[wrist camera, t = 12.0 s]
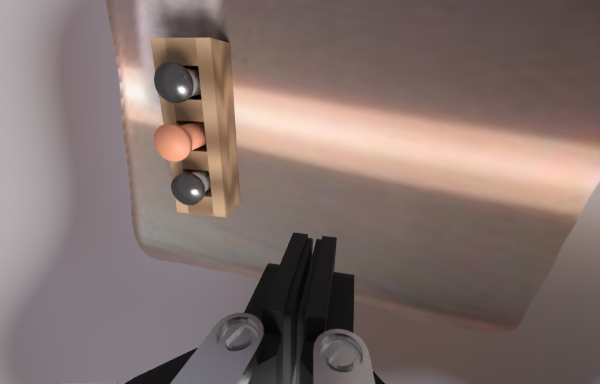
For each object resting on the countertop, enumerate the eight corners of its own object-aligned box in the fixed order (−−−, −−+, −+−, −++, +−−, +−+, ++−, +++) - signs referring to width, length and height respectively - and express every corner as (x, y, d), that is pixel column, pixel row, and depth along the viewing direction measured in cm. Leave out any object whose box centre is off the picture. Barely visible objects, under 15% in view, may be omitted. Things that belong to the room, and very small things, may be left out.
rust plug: (186, 115, 36) (151, 123, 30) (215, 117, 35) (185, 125, 29) (190, 146, 38) (157, 160, 31) (218, 148, 37) (190, 162, 31)
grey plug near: (187, 64, 35) (151, 61, 29) (217, 65, 35) (186, 62, 28) (191, 98, 37) (157, 102, 31) (220, 99, 36) (191, 103, 30)
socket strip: (177, 42, 35) (150, 37, 31) (229, 43, 34) (210, 37, 30) (196, 197, 43) (177, 212, 39) (240, 202, 42) (225, 217, 37)
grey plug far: (198, 158, 40) (168, 173, 34) (225, 160, 39) (200, 175, 33) (201, 185, 41) (173, 203, 35) (227, 187, 41) (203, 206, 34)
